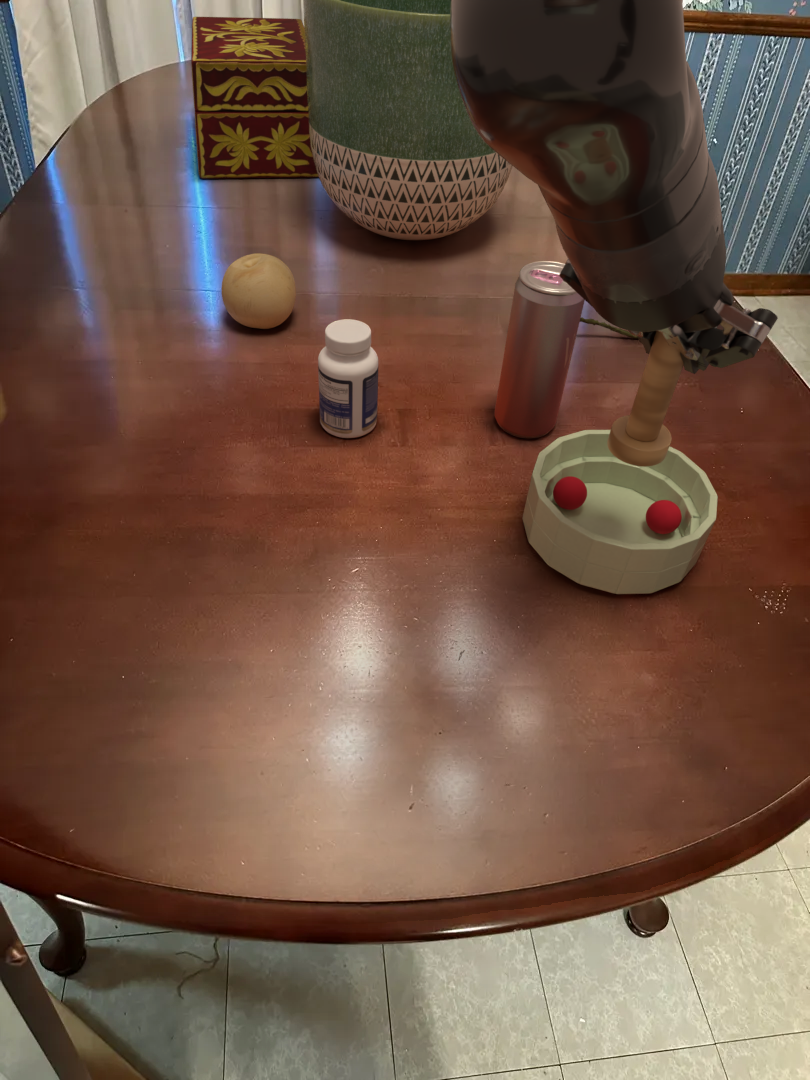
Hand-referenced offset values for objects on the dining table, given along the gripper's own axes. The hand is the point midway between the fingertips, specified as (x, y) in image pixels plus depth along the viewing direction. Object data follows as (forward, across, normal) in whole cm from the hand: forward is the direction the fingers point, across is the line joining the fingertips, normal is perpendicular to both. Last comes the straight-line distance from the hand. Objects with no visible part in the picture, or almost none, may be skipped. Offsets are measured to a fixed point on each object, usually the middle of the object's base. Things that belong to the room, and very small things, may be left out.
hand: (678, 351), depth 55 cm
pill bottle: (+8, +26, +16) cm, 31 cm away
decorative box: (+38, +87, -14) cm, 96 cm away
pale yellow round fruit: (+13, +46, +11) cm, 49 cm away
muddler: (+4, 0, +7) cm, 8 cm away
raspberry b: (+11, -3, +10) cm, 15 cm away
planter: (+34, +51, -11) cm, 62 cm away
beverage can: (+16, +14, +8) cm, 23 cm away
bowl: (+10, 0, +13) cm, 17 cm away
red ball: (+9, +4, +12) cm, 15 cm away
